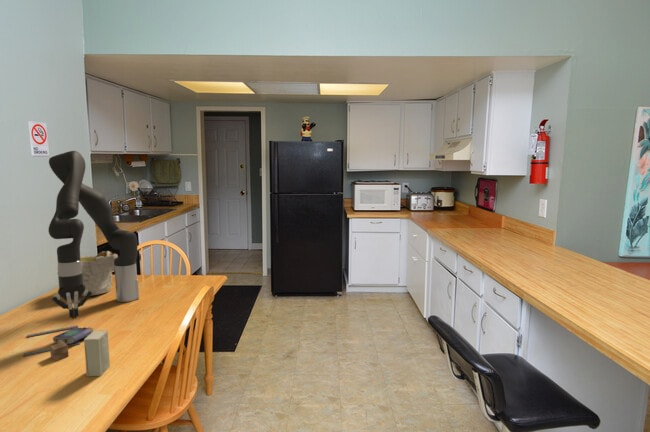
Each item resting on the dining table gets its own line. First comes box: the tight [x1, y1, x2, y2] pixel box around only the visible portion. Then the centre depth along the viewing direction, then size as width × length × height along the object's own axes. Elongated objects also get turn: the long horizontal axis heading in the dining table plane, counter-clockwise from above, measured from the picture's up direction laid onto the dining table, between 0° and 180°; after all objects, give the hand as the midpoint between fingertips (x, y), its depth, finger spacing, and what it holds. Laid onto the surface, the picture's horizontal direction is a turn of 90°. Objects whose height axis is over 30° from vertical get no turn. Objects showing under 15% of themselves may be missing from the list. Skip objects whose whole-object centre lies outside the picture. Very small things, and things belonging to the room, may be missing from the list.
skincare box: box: [83, 330, 111, 377], centre depth 119 cm, size 6×4×12 cm
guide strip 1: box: [26, 325, 79, 338], centre depth 148 cm, size 16×2×1 cm, turn 125°
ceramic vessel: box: [80, 250, 119, 297], centre depth 193 cm, size 23×24×25 cm
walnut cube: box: [49, 342, 70, 362], centre depth 129 cm, size 4×4×4 cm
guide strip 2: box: [23, 340, 81, 357], centre depth 134 cm, size 16×2×1 cm, turn 125°
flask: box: [52, 327, 94, 344], centre depth 140 cm, size 9×3×11 cm
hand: (74, 317), depth 144 cm, fingers closed
